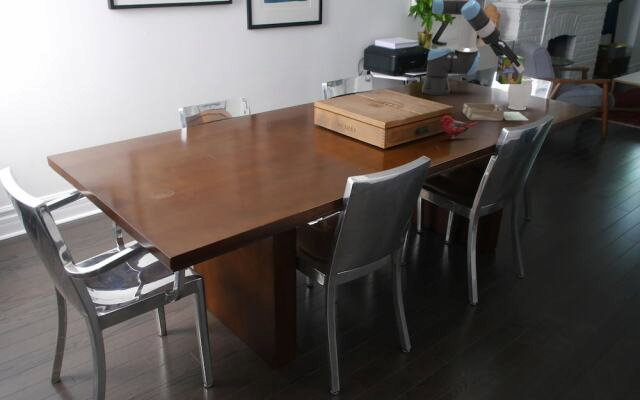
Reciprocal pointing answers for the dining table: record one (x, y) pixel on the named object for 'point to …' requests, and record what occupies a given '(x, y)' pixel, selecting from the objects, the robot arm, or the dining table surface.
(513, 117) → the sage-grey mat
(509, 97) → the jar
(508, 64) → the chalk box
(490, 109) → the pale wooden box
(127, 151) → the dining table surface
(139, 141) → the dining table surface
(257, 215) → the dining table surface
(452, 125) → the decorative bird figurine
